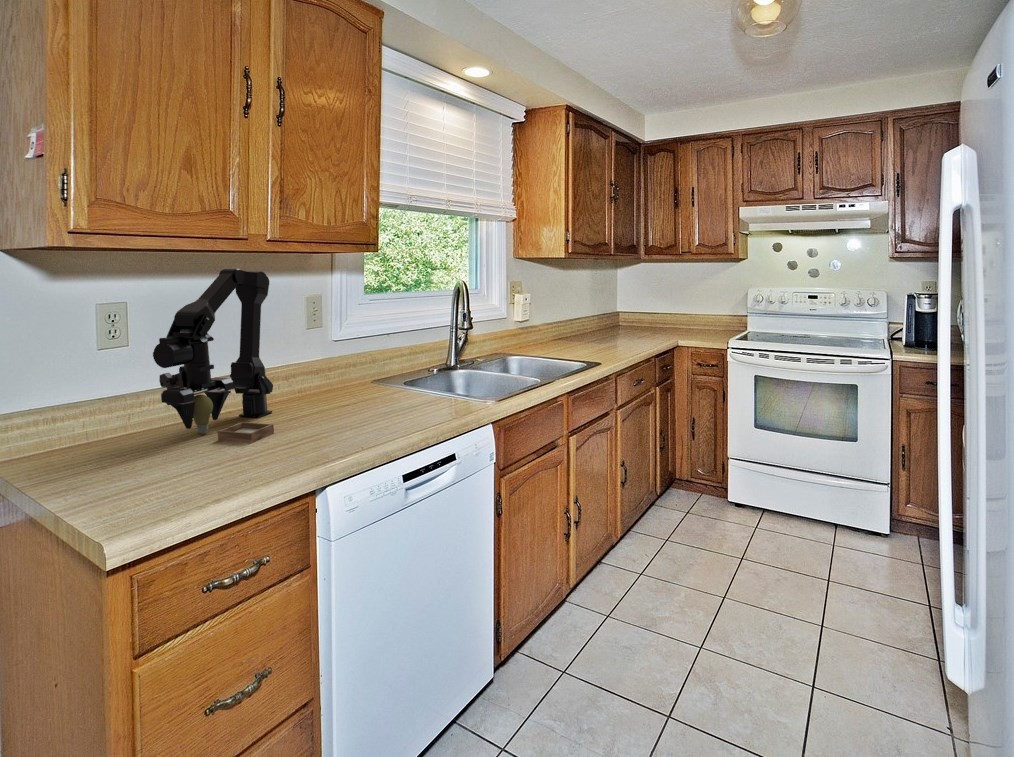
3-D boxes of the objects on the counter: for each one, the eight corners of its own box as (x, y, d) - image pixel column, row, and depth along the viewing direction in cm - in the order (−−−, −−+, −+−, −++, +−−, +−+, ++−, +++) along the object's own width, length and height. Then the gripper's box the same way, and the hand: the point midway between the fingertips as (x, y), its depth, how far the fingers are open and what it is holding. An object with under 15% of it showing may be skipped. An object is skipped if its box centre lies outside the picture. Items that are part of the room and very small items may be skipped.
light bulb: (191, 432, 158) (188, 393, 157) (216, 430, 160) (212, 391, 159) (189, 438, 153) (185, 397, 151) (214, 436, 155) (211, 396, 153)
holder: (242, 431, 160) (241, 422, 159) (274, 433, 158) (273, 424, 157) (218, 440, 151) (217, 431, 151) (251, 443, 149) (250, 433, 149)
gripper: (195, 355, 164) (200, 413, 167) (138, 366, 147) (145, 431, 149) (232, 356, 162) (237, 416, 165) (178, 368, 144) (185, 434, 147)
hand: (202, 424), depth 156 cm, fingers open, 9 cm apart
